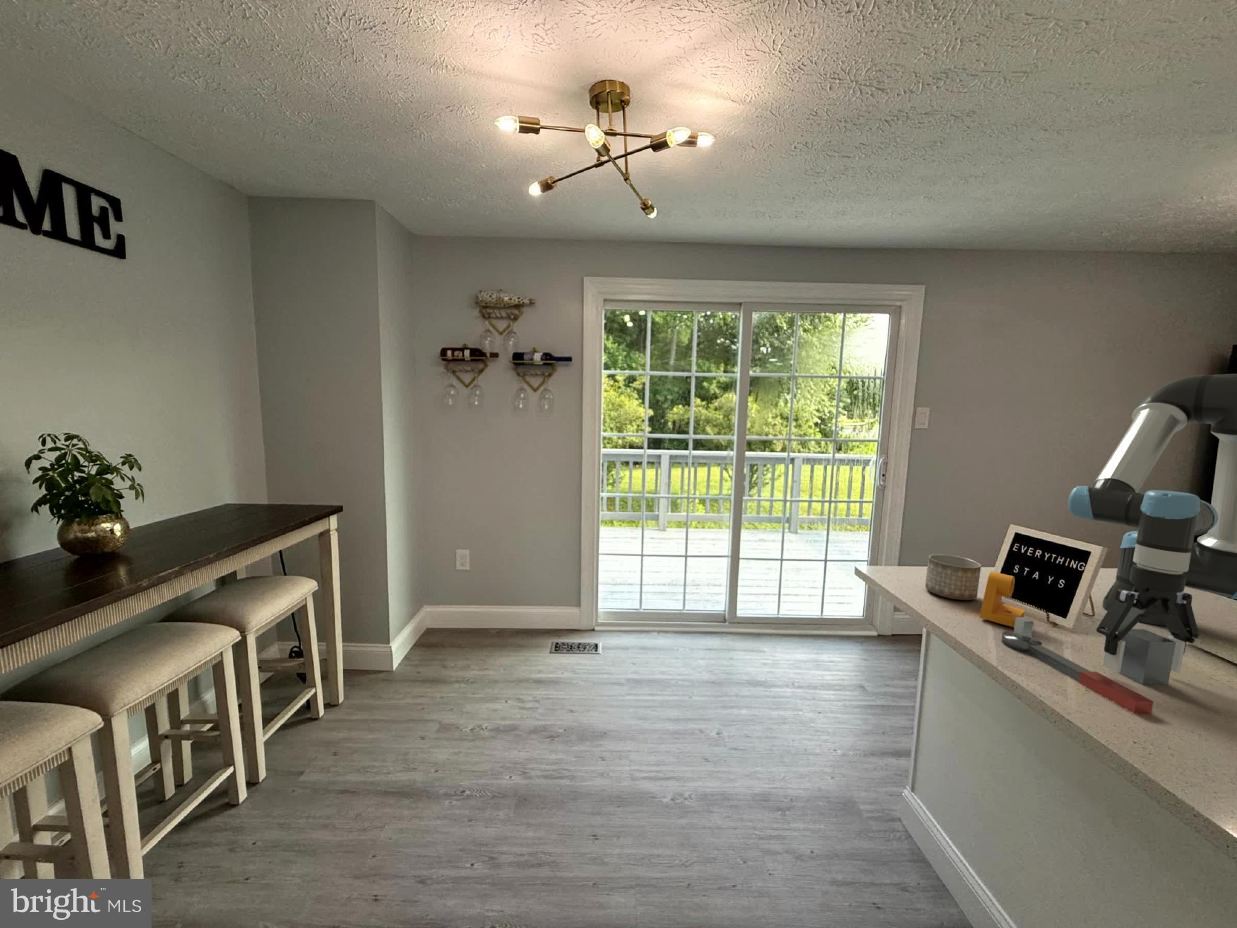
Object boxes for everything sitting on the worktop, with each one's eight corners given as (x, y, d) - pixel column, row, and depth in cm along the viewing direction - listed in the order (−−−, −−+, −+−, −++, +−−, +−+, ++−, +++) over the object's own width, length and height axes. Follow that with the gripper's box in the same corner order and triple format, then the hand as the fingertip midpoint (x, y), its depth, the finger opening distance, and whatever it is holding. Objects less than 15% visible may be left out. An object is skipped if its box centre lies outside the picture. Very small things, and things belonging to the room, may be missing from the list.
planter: (987, 604, 138) (992, 568, 137) (942, 602, 139) (946, 566, 137) (957, 587, 151) (961, 554, 150) (915, 586, 151) (919, 553, 150)
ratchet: (993, 639, 117) (997, 612, 116) (1021, 639, 117) (1025, 612, 116) (1124, 714, 89) (1130, 679, 88) (1160, 713, 89) (1166, 679, 88)
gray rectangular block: (1137, 669, 105) (1144, 629, 104) (1168, 684, 99) (1175, 641, 98) (1112, 669, 104) (1119, 629, 103) (1142, 684, 99) (1150, 641, 98)
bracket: (1014, 630, 122) (1021, 583, 120) (979, 620, 127) (985, 575, 126) (1024, 619, 129) (1030, 575, 127) (990, 610, 134) (996, 567, 133)
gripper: (1191, 563, 104) (1174, 659, 106) (1083, 560, 102) (1067, 659, 104) (1239, 575, 96) (1218, 679, 99) (1122, 573, 94) (1104, 678, 97)
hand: (1140, 669), depth 101 cm, fingers open, 12 cm apart
